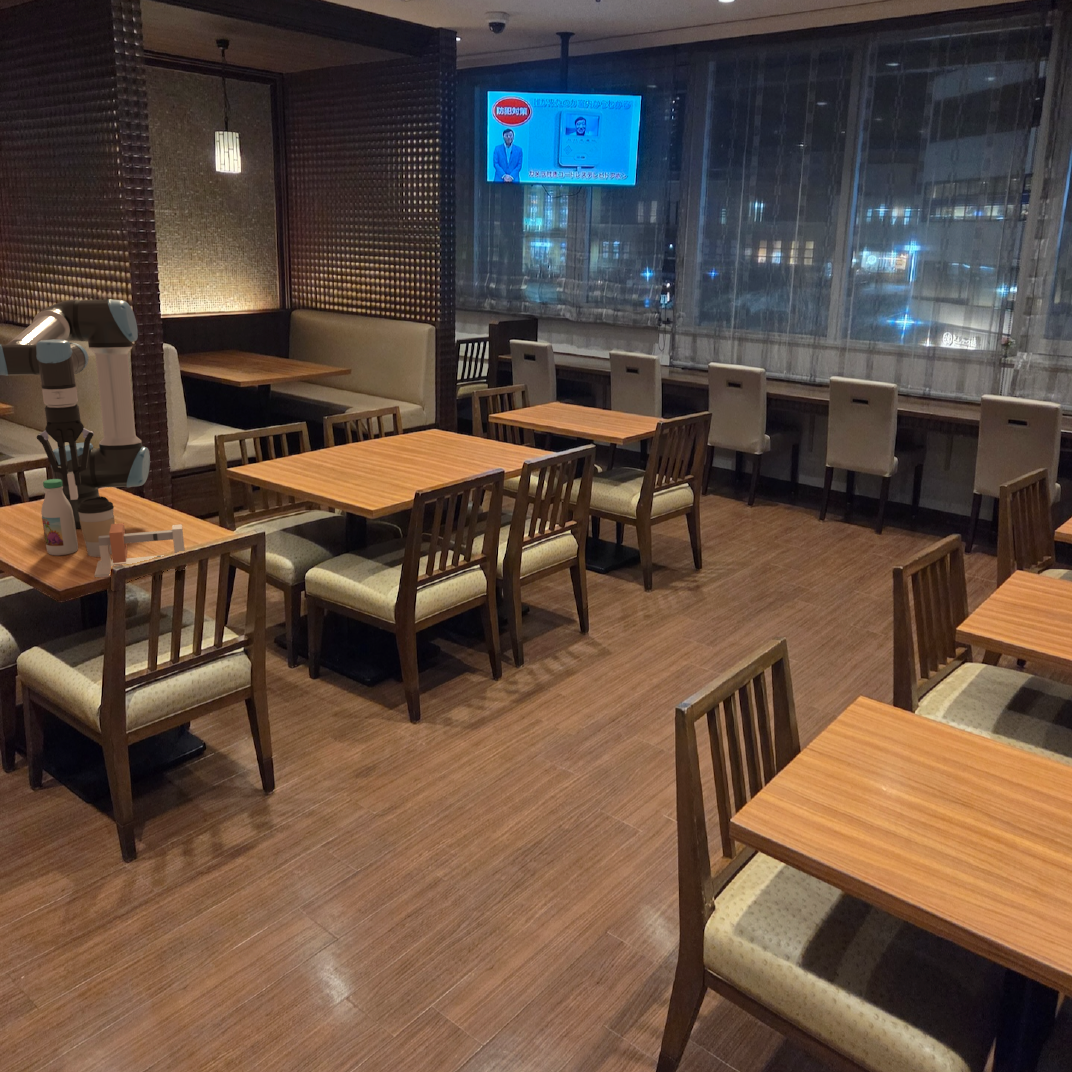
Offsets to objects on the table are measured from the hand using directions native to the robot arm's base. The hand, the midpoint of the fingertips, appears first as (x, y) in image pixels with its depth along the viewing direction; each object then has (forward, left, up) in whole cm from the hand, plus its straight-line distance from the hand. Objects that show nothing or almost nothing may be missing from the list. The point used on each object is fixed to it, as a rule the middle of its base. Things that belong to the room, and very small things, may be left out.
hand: (74, 498), depth 240 cm
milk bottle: (-19, -7, -20) cm, 29 cm away
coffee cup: (-15, +3, -20) cm, 25 cm away
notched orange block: (0, +9, -13) cm, 16 cm away
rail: (0, +14, -20) cm, 24 cm away
